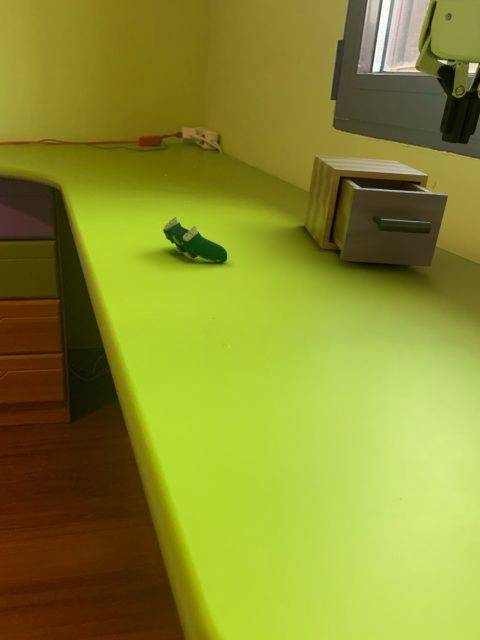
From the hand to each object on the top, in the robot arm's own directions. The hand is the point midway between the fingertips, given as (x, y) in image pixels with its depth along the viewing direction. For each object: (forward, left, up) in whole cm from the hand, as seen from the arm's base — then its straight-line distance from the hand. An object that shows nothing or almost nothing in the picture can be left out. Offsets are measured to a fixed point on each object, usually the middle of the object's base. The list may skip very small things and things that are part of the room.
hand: (454, 141), depth 69 cm
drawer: (0, -19, -16) cm, 25 cm away
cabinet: (0, -32, -17) cm, 36 cm away
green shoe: (+25, -15, -17) cm, 34 cm away
